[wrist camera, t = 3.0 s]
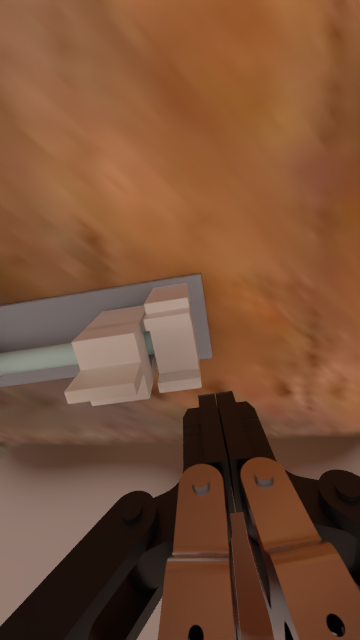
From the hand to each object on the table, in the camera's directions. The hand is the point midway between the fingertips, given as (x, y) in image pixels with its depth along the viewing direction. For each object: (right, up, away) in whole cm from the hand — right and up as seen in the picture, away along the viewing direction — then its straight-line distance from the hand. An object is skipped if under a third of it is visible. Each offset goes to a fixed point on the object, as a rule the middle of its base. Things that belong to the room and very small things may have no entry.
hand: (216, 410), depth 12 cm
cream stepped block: (-6, +3, +11) cm, 13 cm away
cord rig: (-12, +3, +14) cm, 18 cm away
